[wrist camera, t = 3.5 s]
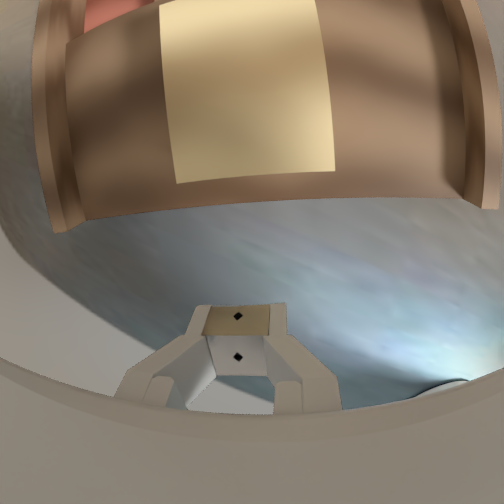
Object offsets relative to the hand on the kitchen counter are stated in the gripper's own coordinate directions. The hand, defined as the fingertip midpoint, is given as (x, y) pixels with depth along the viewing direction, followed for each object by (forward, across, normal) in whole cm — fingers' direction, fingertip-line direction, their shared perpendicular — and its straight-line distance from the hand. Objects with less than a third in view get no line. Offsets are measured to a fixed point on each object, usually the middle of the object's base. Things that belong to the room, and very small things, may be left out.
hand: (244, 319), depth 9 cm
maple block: (+7, -1, -8) cm, 11 cm away
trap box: (+9, -1, -19) cm, 21 cm away
